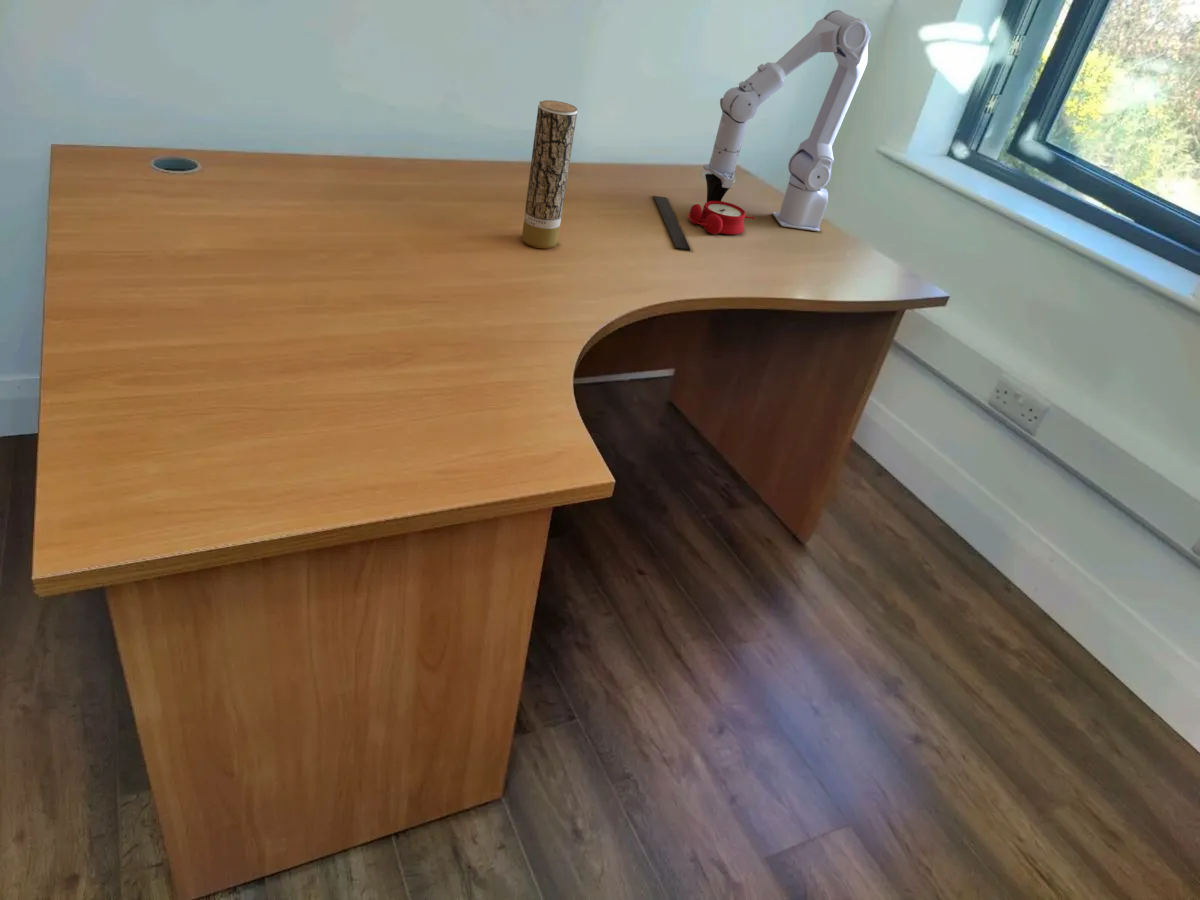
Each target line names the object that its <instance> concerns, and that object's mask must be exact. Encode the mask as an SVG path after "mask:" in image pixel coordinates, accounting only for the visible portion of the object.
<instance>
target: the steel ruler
mask: <svg viewBox="0 0 1200 900" xmlns="http://www.w3.org/2000/svg"><path fill="white" fill-rule="evenodd" d="M653 200H654V202H655V204H656V207H657V209H658V211H659V213H660V216H661V218H662V221H663V223H664V225H665V227H666V229H667V232H668V234H669V237H670V239H671V241H672V244H673V246H674V248H675V249H676V250H682V251H688V252H690V251H691V247H690V245H689V243H688V241H687V239H686V236H685V234H684V232H683V230H682V228H681V226H680V223H679V221H678V219H677V218H676V216H675V213H674V211H673V209H672V207H671V205H670V202H669V200H668V198H667V197H665V196H658V195H653Z"/></svg>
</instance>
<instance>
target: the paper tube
mask: <svg viewBox="0 0 1200 900" xmlns="http://www.w3.org/2000/svg"><path fill="white" fill-rule="evenodd" d="M578 110H579V109H578V107H576V106H574V105H572V104H571V103H567V102H564V101H559V100H552V99H551V100H550V99H543V100H540V101H539V102H538V105H537V113H536V122H535V129H534V138H533V145H532V152H531V161H530V168H529V176H528V184H527V193H526V200H525V207H524V208H525V209H524V216H523V223H522V224H523V225H522V231H521V232H522V233H521V240H522V241H523V242H524V243H525V244H526V245H528V246H530V247H532V248H536V249H546V250H547V249H551V248H555V246H556V245H557V244H558V242H559V241H558V240H559V234H560V227H561V221H562V215H563V208H564V201H565V196H566V190H567V189H566V188H567V182H568V176H569V168H570V162H571V155H572V151H573V143H574V137H575V130H576V124H577V117H578Z"/></svg>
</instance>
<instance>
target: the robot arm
mask: <svg viewBox="0 0 1200 900" xmlns="http://www.w3.org/2000/svg"><path fill="white" fill-rule="evenodd" d="M871 38H872V34H871V31H870V29H869V26H868V24H867V23H866V22H865V20H863V19H862V18H860V17H855V16H853V15H851V14H848V13H846V12H845V11H842V10H840V9H834V10H831V11H829V12H828V13H827V14H825V15H824V16H823V18H821V19H818V20H817V21H816V22H815V24H814V25H813V27H812V28H811V30H810V31H809V32H808V33H807V34H805V35H804V36H803V37H802V38H801V39H800V40H799V41H798V42H797V43H796V44H795V45H794V46H792V48H790V49H789V50H788V51H787V52H786V53H785V54H784V55H783V56H781V57H780V59H778V60H777V61H776V62H768V61H767V62H766V63H765V64H763V63H761V64H759V65H758V66H757V68H756V69H757V70H756V71H755V72H754V73H752V74H751V75H750V76H749V77H748V78H747V79H745V80H742V81H740V82H739V83H738V86H735V87H731V88H729V89H728V90H727V91H726V92H725V93H724V95H723V97H721V98H719V99H720V100H719V107H720V109H721V117H720V120H719V124H718V129H717V132H716V136H715V140H714V145H713V149H712V152H711V153H712V154H711V157H710V160H709V163H708V164H703V168H702V169H703V170H704V171H706V172H707V171H708V172H710V173H706V174H704V176H705V180H706V182H705V183H706V202H708V201H723V198H724V196H725V195H726V194H727V192H728V191H729V190H731V189H732V188H733V187H732V186H733V184H734V178H735V175H736V168H737V165H738V160H739V157H740V152H741V148H742V145H743V142H744V137H745V135H746V130H747V127H748V122H749V120H751V119H754V117H755V116H756V113H757V111H758V108H759V107H760V106H761V105H762V103H764V102H765V101H767V100H768V99H769V98H770V97H772V95H774V94H775V93H776V92H777V91H779V90H780V89H781V88H782V87H783V86H784V85H785V80H786V77H787V76H788V75H790V74H791V73H792V72H794V71H795V70H796V69H798V68H799V67H801V66H802V65H804V64H805V63H806V62H808V61H809V60H810V59H812V58H814V57H815V56H816V55H817V54H819V53H833V55H834V57H835V59H836V61H837V67H836V70H835V72H834V75H833V77H832V80H831V82H830V84H829V87H828V89H827V91H826V94H825V96H824V99H823V101H822V104H821V106H820V109H819V111H818V114H817V116H816V118H815V121H814V124H813V126H812V129H811V130H810V133H809V136H808V138H806V139H805V140H803V141H802V142H800V143H799V145H798V148H797V150H796V151H795V152H794V153H793V154H792V155H791V157H790V158H789V161H788V165H787V169H788V172H789V173H790V175H789V177H788V178H789V180H788V183H787V187H786V190H785V193H784V195H783V200H782V203H781V206H780V209H779V212H776V211H773V212H772V215H773V217H774V218H775V219H776V221H777V222H778V224H779V225H780V226H781V227H784V228H792V229H799V230H806V231H813V232H820V231H821V229H820V226H821V223H822V220H823V217H824V215H825V212H826V208H827V206H828V201H829V192H828V190H827V189H826V188H824V187H826V186H827V185H828V183H829V182H830V179H831V176H832V167H833V166H832V165H833V163H834V161H835V158H834V153H833V145H834V142H835V140H836V137H837V135H838V134H839V131H840V129H841V126H842V124H843V121H844V120H845V116H846V114H847V112H848V110H849V107H850V105H851V103H852V100H853V98H854V96H855V93H856V91H857V88H858V86H859V83H860V81H861V79H862V77H863V74H864V72H865V70H866V67H867V64H868V54H869V53H868V51H869V49H868V48H869V42H870V40H871Z"/></svg>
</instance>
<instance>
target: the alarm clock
mask: <svg viewBox="0 0 1200 900" xmlns="http://www.w3.org/2000/svg"><path fill="white" fill-rule="evenodd" d="M686 217H687V218H688V220H690V222H691V223H692V224H693V225H700V226H702V227H703V228H704V230H705V231H706V232H707V233H708V234H710V235H717V234H723V235H740V234H743V232H744V231H745V225H744V221H745V218H746V219H752V220H754V219H755V217H754V216H747V215H746V211H745V210H744V209H743V208H742V207H740V206H738V205H736V204H733V203H731V202H727V201H723V200H721V201H708V202H707V201H706V202H705V203H704V205H703V208H702V207H701V205H700V203H696V204H693V205H692V206H691V208H690V210H689V214H687V216H686Z"/></svg>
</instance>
